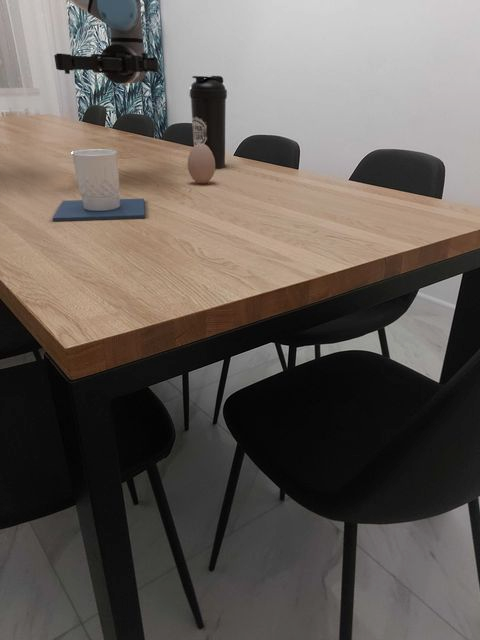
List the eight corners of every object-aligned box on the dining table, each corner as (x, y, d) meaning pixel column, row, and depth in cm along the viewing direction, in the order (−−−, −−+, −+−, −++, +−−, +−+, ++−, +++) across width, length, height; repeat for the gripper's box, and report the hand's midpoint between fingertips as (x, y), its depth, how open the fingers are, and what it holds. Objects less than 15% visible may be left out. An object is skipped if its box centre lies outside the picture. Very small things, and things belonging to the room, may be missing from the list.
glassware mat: (53, 221, 89) (52, 218, 89) (63, 203, 101) (62, 200, 101) (145, 218, 92) (144, 214, 92) (144, 201, 104) (144, 198, 104)
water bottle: (185, 165, 145) (180, 75, 134) (213, 162, 151) (211, 75, 140) (206, 170, 138) (203, 75, 127) (235, 167, 144) (234, 76, 133)
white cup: (124, 202, 100) (118, 149, 96) (121, 211, 94) (115, 155, 89) (83, 203, 99) (75, 149, 94) (77, 212, 92) (68, 155, 88)
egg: (199, 179, 126) (197, 140, 122) (221, 182, 123) (220, 143, 119) (183, 184, 121) (180, 143, 117) (205, 187, 118) (203, 145, 114)
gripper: (178, 84, 114) (166, 86, 96) (67, 82, 113) (32, 84, 94) (176, 46, 111) (163, 40, 92) (61, 43, 109) (24, 37, 91)
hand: (97, 62), depth 93 cm, fingers open, 13 cm apart
